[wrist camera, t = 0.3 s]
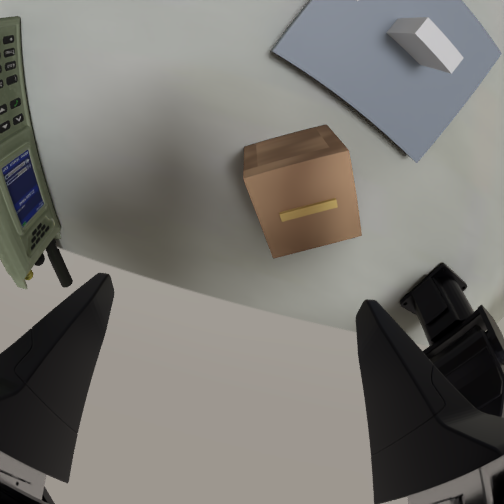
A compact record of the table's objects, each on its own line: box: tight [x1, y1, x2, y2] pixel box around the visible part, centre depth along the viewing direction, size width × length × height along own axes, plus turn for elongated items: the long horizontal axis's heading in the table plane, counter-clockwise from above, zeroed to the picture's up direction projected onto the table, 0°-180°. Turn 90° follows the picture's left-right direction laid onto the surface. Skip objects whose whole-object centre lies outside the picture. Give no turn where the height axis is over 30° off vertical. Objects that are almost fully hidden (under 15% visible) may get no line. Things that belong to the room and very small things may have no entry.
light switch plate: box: [271, 0, 502, 163], centre depth 12 cm, size 12×12×5 cm
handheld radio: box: [0, 16, 73, 289], centre depth 16 cm, size 7×3×25 cm
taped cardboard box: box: [243, 125, 362, 258], centre depth 18 cm, size 6×6×5 cm
